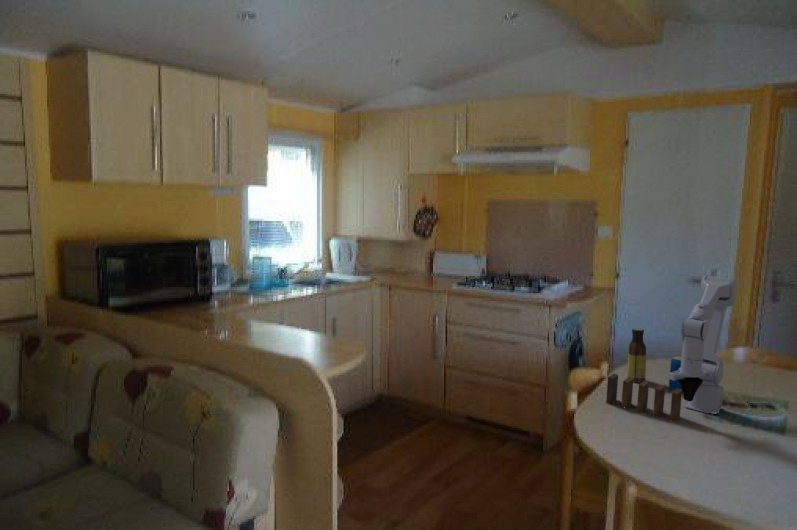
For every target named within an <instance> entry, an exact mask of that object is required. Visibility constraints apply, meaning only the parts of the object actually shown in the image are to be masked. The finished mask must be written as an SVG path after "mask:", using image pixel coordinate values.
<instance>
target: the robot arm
mask: <svg viewBox="0 0 797 530" xmlns="http://www.w3.org/2000/svg"><path fill="white" fill-rule="evenodd" d="M738 287H739V283H738V280H737V278H735V277H733V278H729V277H723V276H714V275H713V276H712V275H708V274H707V275H706V274H705V275H704V276H703V277H702V279H701V281H700V291H701V295H702V296H701V297H702V298H701V299H700V300H701V301H700V302H699V303H697V304H695V305H694V307H693V308H692V310H691V312H690V314H689V316H688V318H686V319H684V320H683V321H682V323H681V328H680V334H681V343H682V347H681V348H682V350H681V356H682V359H681V368H679V370H677V371H674V372H670V371H669V372H668V379H671V380H673V381H675V380H676V379H678V381H679V382H680V385H681V387H682V391H683V393H682V397H683V399H684V400H685V401H686V402H687V403H686V404H685V406H684V408H686V409H690V410H693V411H697V412H702V413H706V414H709V413H711V412H718V410H719V408H721V407H722V408H723V399H724V386H723V385H721V384H720V383H721V382H722V380H723V375H724V365H725V364H724V361H723V360H722V359H721V357H719V356H718V355H717V351H718V346H719V344H720V343H719V342H720V339H721V338H720V337H721V334H722V329H723V325H724V321H725V316H726V312H727V310H728V309H729V308H728V307H731V306H734V305H735V301H736V299H737V293H738Z"/></svg>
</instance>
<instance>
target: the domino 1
mask: <svg viewBox="0 0 797 530" xmlns="http://www.w3.org/2000/svg"><path fill="white" fill-rule="evenodd" d="M618 383H619V374H616V373H612V374H611V375H610V376H607V385H606V387H607V388H606V399H605V401H606V402H605V403H606V404H607V403H609V404H608V405H612V404H613V403H615V402H616V401H617V396H618V385H619V384H618ZM614 401H615V402H614Z"/></svg>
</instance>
